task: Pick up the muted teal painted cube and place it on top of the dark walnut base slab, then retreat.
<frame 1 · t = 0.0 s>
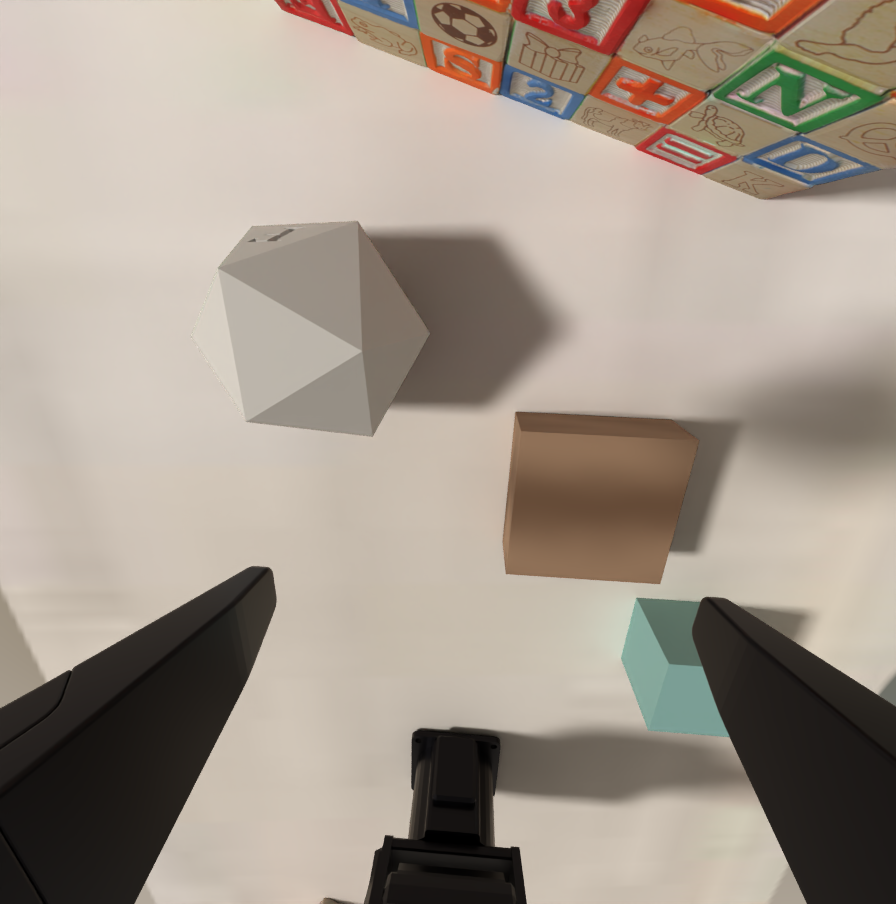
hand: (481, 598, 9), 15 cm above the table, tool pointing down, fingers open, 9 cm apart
die: (341, 324, 22), on the table
multicoloured boxy piece: (561, 22, 17), on the table
walnut base: (581, 484, 24), on the table
teal cube: (667, 630, 28), on the table
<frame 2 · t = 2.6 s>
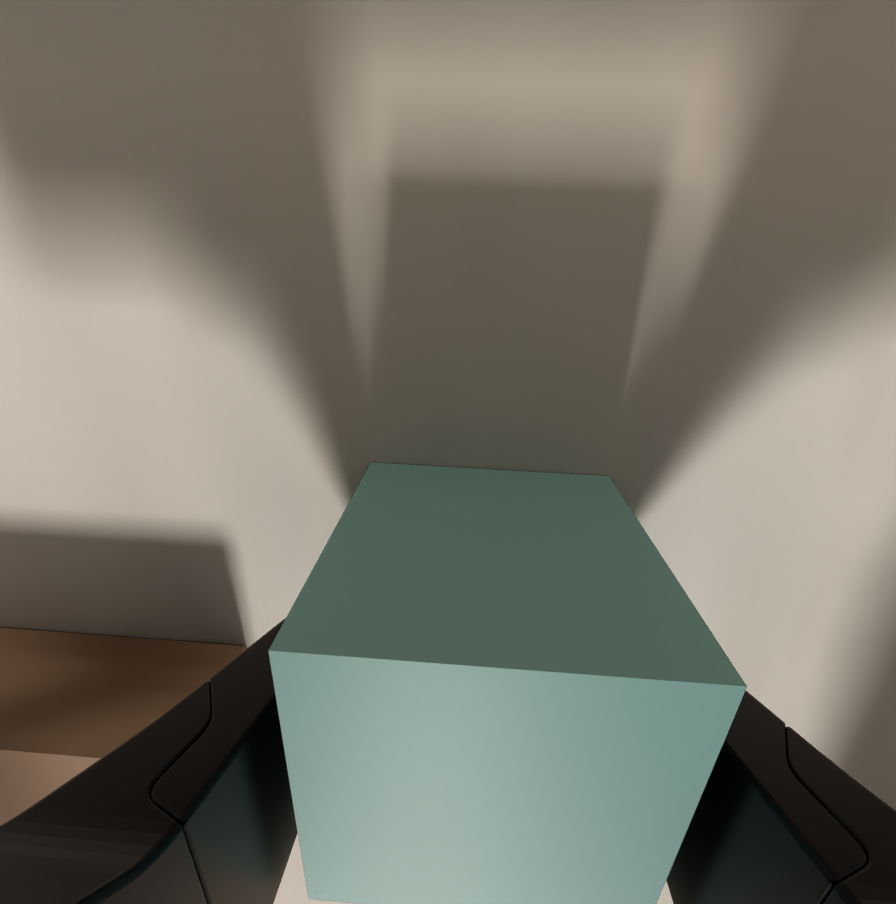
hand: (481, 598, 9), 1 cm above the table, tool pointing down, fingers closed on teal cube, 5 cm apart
walnut base: (133, 736, 13), on the table
teal cube: (480, 566, 10), on the table, touching gripper
when the fingers open (5 cm above the table, at t = 5.9 s): teal cube drops 1 cm, resting on walnut base.
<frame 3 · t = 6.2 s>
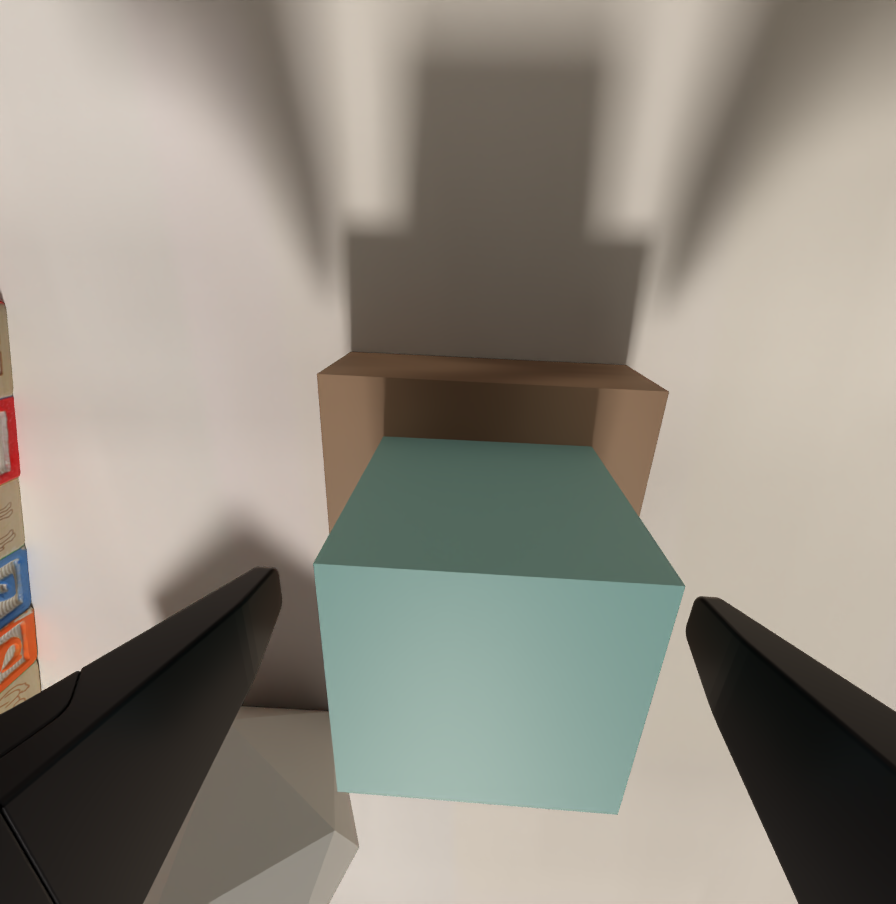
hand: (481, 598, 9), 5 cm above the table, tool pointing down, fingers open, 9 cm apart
die: (282, 726, 20), on the table
walnut base: (478, 481, 14), on the table
teal cube: (480, 530, 11), point 3 cm above the table, touching walnut base
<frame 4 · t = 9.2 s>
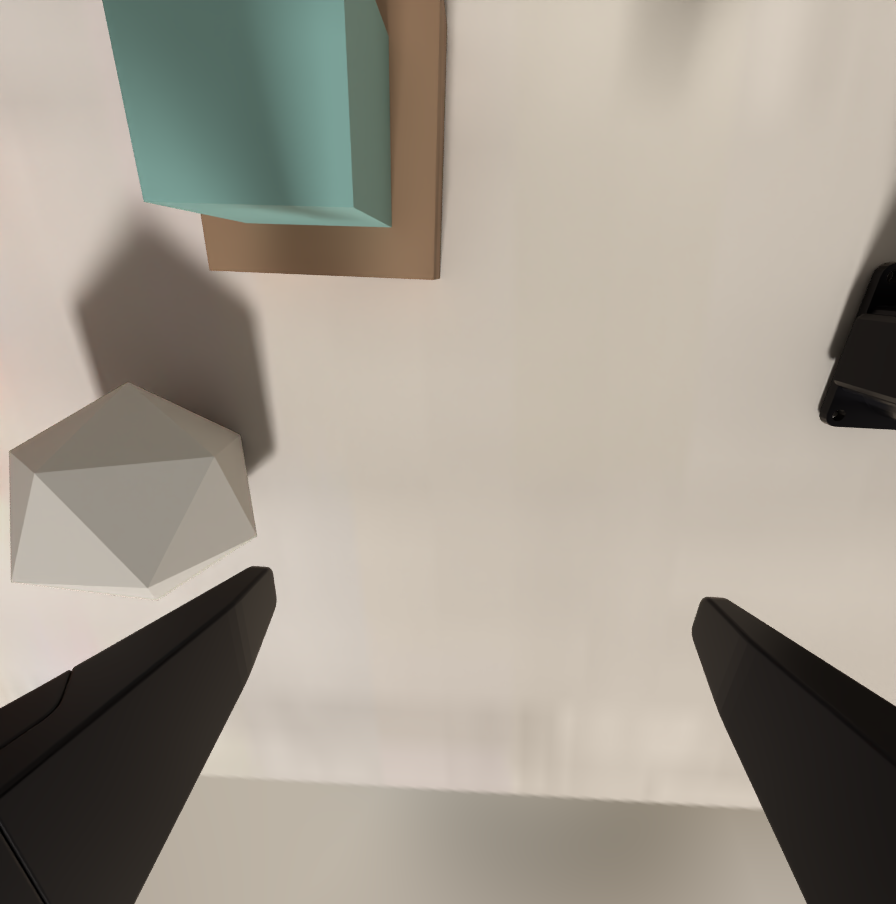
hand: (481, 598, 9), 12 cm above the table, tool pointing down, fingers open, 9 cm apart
die: (199, 459, 22), on the table
walnut base: (338, 161, 17), on the table
teal cube: (312, 136, 14), point 3 cm above the table, touching walnut base
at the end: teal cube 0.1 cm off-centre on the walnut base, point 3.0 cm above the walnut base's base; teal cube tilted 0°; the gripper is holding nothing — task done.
